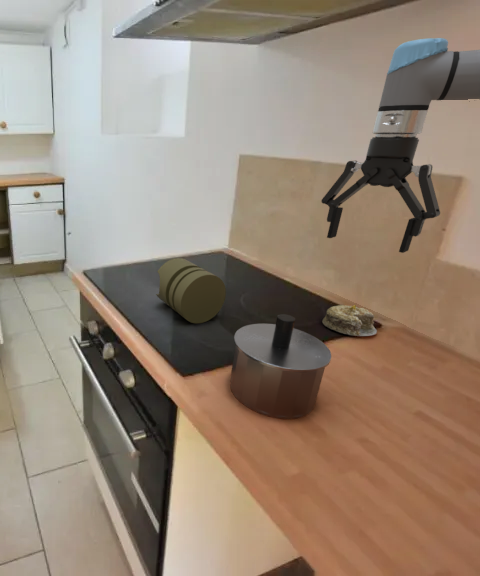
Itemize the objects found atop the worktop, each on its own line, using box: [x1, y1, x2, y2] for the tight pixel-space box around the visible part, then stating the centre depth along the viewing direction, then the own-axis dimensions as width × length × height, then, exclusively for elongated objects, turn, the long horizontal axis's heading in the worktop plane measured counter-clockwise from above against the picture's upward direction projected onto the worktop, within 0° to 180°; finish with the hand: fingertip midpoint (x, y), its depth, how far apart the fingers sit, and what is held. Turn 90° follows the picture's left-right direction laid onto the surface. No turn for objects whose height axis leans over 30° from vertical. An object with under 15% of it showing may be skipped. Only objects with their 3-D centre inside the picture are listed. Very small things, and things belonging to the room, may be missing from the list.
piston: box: [155, 257, 227, 324], centre depth 86 cm, size 11×12×11 cm
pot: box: [229, 345, 326, 420], centre depth 59 cm, size 12×12×8 cm
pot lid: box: [233, 313, 332, 372], centre depth 57 cm, size 13×13×6 cm
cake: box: [322, 304, 378, 337], centre depth 80 cm, size 10×10×5 cm
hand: (365, 243), depth 80 cm, fingers open, 13 cm apart
